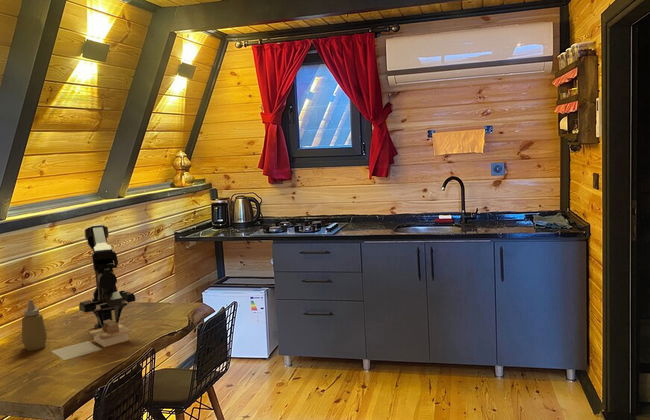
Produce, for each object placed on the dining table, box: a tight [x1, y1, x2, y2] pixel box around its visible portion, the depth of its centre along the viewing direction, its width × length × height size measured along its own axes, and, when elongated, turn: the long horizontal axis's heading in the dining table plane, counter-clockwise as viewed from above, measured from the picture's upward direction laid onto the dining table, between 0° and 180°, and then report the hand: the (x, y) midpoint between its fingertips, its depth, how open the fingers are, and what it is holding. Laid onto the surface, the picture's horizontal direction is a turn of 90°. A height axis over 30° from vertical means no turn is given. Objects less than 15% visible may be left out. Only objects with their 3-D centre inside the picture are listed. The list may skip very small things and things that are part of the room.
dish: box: [93, 333, 129, 348], centre depth 211 cm, size 9×9×4 cm
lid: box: [89, 320, 133, 340], centre depth 210 cm, size 11×11×4 cm
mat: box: [51, 340, 103, 361], centre depth 203 cm, size 13×13×1 cm
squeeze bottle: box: [21, 299, 48, 351], centre depth 206 cm, size 8×8×18 cm
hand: (109, 324), depth 210 cm, fingers open, 5 cm apart
